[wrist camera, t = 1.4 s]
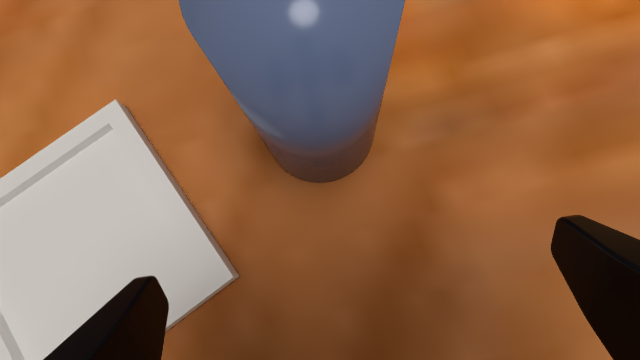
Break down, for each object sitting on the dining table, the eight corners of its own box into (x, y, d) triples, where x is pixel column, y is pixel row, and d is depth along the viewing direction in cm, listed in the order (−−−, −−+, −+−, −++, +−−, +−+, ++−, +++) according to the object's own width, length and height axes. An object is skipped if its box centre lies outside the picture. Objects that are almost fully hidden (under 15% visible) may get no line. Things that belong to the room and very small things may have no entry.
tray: (239, 276, 22) (233, 277, 21) (42, 424, 21) (24, 434, 20) (126, 107, 24) (115, 99, 23) (-53, 230, 23) (-74, 229, 22)
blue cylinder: (318, 205, 22) (284, 130, 10) (246, 131, 24) (132, -22, 11) (395, 131, 23) (459, -31, 10) (321, 62, 24) (297, -156, 12)
